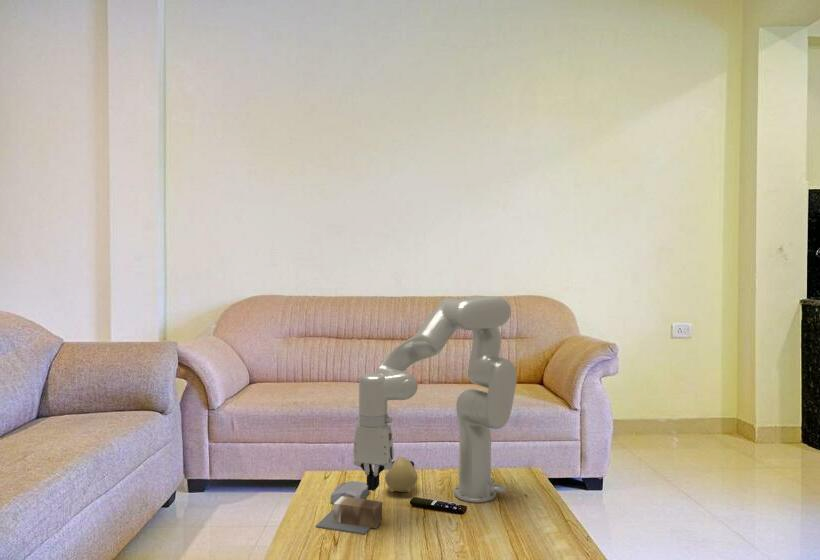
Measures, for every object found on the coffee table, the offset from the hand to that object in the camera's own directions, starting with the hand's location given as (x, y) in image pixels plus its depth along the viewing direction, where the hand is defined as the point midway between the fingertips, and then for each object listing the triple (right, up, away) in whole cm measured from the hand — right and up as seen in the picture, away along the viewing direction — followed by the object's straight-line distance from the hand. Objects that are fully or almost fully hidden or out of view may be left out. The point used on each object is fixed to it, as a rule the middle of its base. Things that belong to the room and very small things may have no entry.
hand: (373, 488), depth 152 cm
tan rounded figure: (+7, -9, +23) cm, 26 cm away
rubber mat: (-7, -10, +2) cm, 12 cm away
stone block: (-8, -10, +18) cm, 22 cm away
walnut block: (+2, -7, 0) cm, 7 cm away
